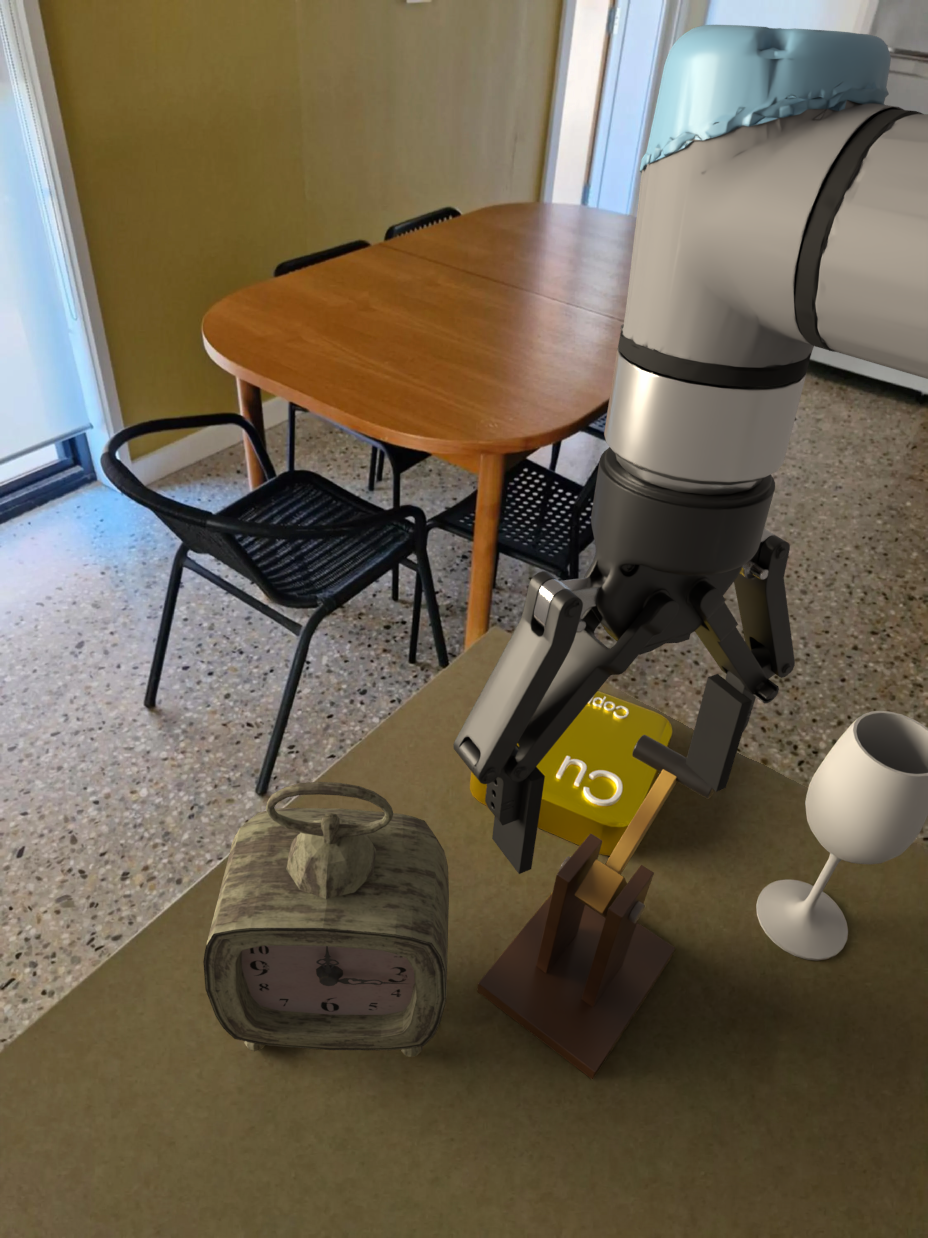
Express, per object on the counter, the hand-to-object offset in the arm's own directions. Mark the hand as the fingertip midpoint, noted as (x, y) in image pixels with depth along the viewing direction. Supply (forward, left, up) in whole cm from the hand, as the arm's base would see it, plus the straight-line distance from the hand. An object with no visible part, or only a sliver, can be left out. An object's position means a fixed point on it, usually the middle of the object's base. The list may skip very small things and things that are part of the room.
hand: (614, 813), depth 50 cm
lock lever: (+3, -8, -11) cm, 14 cm away
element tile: (+17, -16, -23) cm, 33 cm away
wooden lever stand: (+2, -3, -23) cm, 24 cm away
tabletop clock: (+10, +13, -23) cm, 28 cm away
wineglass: (-6, -22, -23) cm, 32 cm away
